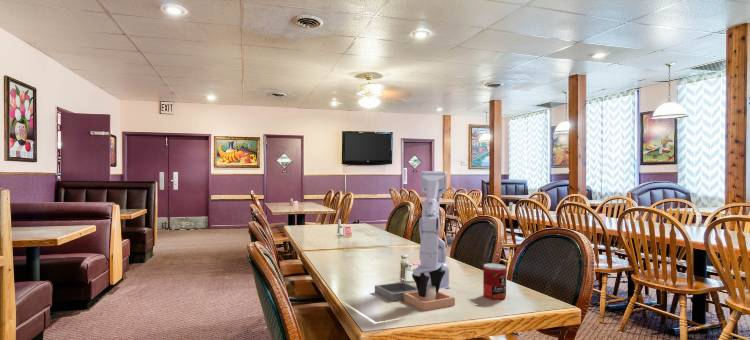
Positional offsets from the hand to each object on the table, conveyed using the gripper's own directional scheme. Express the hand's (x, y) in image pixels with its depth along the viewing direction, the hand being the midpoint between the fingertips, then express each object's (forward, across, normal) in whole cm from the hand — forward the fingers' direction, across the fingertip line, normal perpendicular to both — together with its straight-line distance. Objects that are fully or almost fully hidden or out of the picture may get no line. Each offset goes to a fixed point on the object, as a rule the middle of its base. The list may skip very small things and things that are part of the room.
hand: (428, 294), depth 139 cm
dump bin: (+3, 0, 0) cm, 3 cm away
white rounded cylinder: (+3, 0, 0) cm, 3 cm away
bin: (+3, 0, -13) cm, 14 cm away
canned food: (+4, -23, +12) cm, 27 cm away
